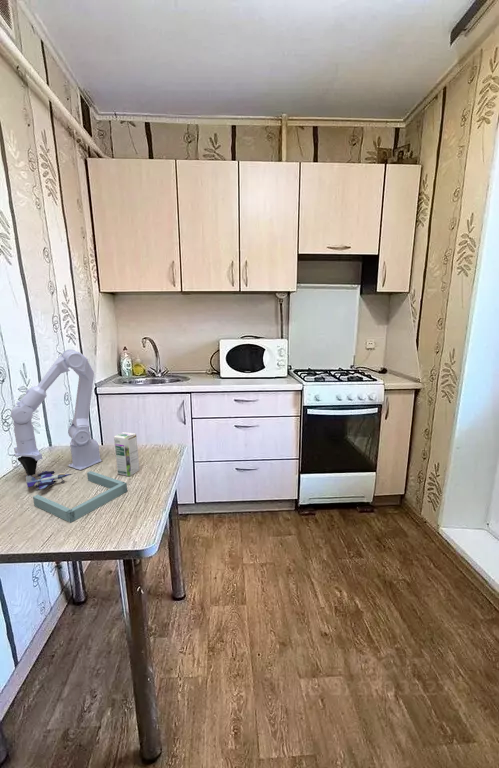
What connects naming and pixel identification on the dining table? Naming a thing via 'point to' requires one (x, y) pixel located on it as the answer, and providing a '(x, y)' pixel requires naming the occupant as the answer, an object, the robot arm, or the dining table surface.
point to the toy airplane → (45, 479)
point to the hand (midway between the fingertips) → (31, 474)
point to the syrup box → (126, 453)
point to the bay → (88, 506)
